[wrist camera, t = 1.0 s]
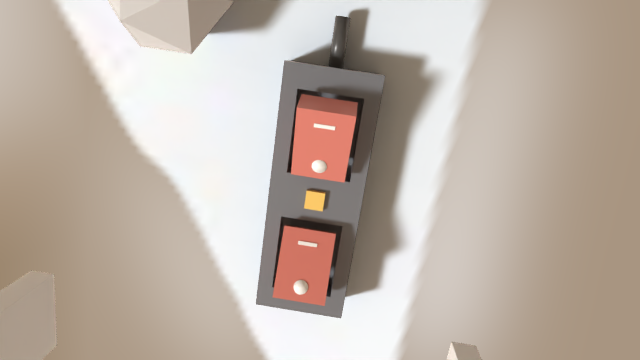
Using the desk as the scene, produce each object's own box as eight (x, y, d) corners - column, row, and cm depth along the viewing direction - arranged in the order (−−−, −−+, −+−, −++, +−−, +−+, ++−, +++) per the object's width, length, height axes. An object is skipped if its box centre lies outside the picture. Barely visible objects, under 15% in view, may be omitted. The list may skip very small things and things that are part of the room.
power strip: (296, 11, 36) (289, 5, 32) (390, 25, 35) (395, 21, 32) (263, 285, 43) (254, 306, 39) (341, 298, 42) (340, 320, 39)
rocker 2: (286, 224, 38) (284, 225, 36) (335, 232, 38) (335, 233, 35) (275, 291, 38) (272, 297, 35) (324, 299, 38) (324, 306, 35)
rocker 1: (301, 93, 33) (296, 107, 31) (357, 102, 33) (356, 117, 31) (295, 158, 36) (290, 174, 34) (346, 166, 36) (344, 183, 34)
